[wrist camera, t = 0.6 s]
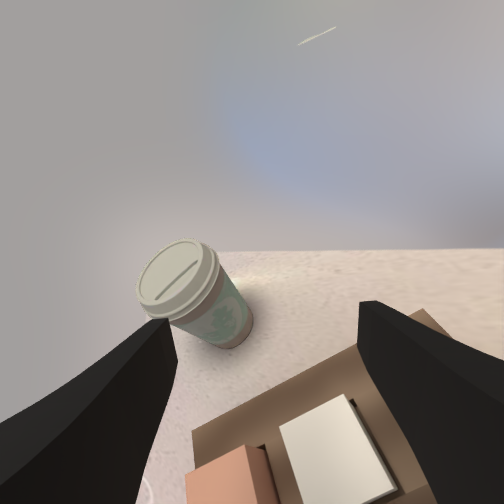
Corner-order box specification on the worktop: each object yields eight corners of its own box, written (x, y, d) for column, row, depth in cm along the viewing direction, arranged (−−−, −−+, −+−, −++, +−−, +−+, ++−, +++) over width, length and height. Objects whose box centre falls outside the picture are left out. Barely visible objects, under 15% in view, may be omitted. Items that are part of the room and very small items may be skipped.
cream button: (398, 489, 16) (393, 488, 13) (329, 521, 16) (311, 526, 14) (354, 407, 20) (343, 393, 17) (298, 435, 20) (279, 426, 17)
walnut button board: (596, 508, 14) (624, 510, 12) (241, 659, 16) (215, 683, 14) (422, 324, 23) (422, 308, 21) (210, 436, 25) (191, 430, 23)
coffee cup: (200, 369, 30) (119, 324, 22) (203, 306, 36) (141, 253, 28) (268, 349, 28) (206, 291, 20) (259, 285, 34) (209, 221, 26)
